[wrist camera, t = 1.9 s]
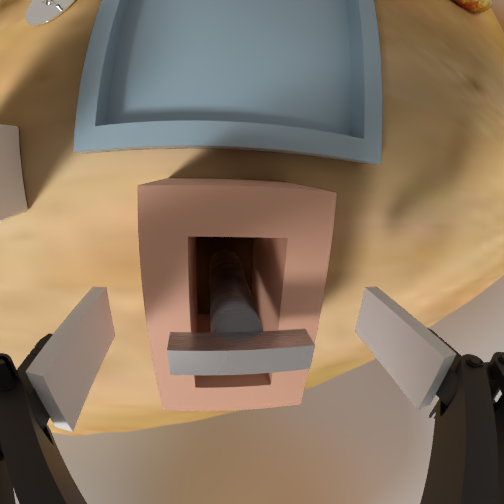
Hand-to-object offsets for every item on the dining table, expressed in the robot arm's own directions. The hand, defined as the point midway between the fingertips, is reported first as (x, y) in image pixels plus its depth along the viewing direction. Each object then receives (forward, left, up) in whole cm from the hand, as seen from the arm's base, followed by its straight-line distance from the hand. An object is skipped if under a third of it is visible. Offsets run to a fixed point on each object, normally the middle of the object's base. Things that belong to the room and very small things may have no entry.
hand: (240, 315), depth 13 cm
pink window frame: (0, 0, -7) cm, 7 cm away
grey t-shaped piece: (0, 0, -7) cm, 7 cm away
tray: (0, +18, -7) cm, 19 cm away
